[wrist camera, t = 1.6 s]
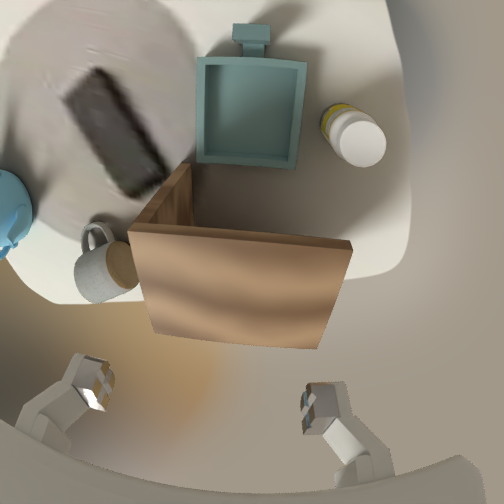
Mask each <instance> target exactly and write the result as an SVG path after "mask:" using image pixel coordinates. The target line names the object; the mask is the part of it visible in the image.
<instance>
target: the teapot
mask: <svg viewBox="0 0 504 504" xmlns="http://www.w3.org/2000/svg"><path fill="white" fill-rule="evenodd" d="M31 224H32V204H31V200H30V196H29V194H28V192H27V189H26V188H25V186H24V184H23V183H22V182H21V180H20V179H19V178H18V177H17V176H15V175H14V174H12V173H10V172H8V171H5V170H0V247H3V249H2V250H1V252H0V260H1V259H3V258H4V257H5V256H6V255H7V253H8V251H9V250H10V248H13V249H14V248H16V247H17V245H18V241H20V240H21V239H23V238H24V237H25V236H26V235H27V234H28V232H29V230H30V228H31Z"/></svg>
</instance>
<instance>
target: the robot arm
mask: <svg viewBox="0 0 504 504" xmlns="http://www.w3.org/2000/svg"><path fill="white" fill-rule="evenodd" d="M109 366H110V364H109V362H108V361H107V360H103V359H98V358H94V357H90V356H87V355H83V354H79V353H76V354H75V355H74V356H73V358H72V360H71V362H70V364H69V366H68V368H67V370H66V372H65V374H64V376H63V379H62V381H61V382H60V381H58V382H56V383H55V384H53V385H52V386H51V387H49V388H48V389H46V390H45V391H43V392H42V393H40V394H39V395H38V396H36V397H35V398H33V399H32V400H31V401H29V402H27V403H26V404H24V406H23V409H22V411H21V413H20V415H19V418H18V420H17V423H16V425H15V428H14V427H12V426H10V425H8V424H7V423H5V422H4V421H2V420H1V419H0V504H486V497H485V491H484V485H483V479H482V476H481V473H480V470H479V469H478V468H477V467H476V466H475V465H474V464H473V463H471V462H470V461H469V460H467V459H466V458H465V457H463V456H461V455H456V456H453V457H450V458H448V459H445V460H443V461H440V462H437V463H435V464H432V465H429V466H426V467H423V468H420V469H417V470H414V471H411V472H408V473H404V474H401V475H398V476H395V473H394V468H393V463H392V458H391V453H390V449H389V448H388V447H387V446H386V445H385V444H384V443H383V442H382V441H381V440H380V439H379V438H377V437H376V436H375V435H374V433H373V432H371V430H369V428H368V427H366V425H365V424H364V423H363V422H362V421H361V420H360V419H359V418H358V417H357V416H353V415H352V410H351V405H350V400H349V396H348V391H347V387H346V384H345V382H317V383H308V384H307V385H306V391H305V392H303V394H302V396H301V403H300V408H301V413H302V414H303V415H304V416H305V417H304V418H303V420H302V429H303V435H319V434H323V435H322V436H323V437H324V438H325V440H326V441H327V442H328V443H329V445H330V446H331V447H332V449H333V450H334V451H335V453H336V454H337V455H338V457H339V458H340V459H341V460H342V462H343V463H344V464H345V466H343V467H342V468H340V469H339V470H337V471H336V472H335V473H334V477H335V487H336V488H335V489H328V490H320V491H310V492H299V493H298V492H297V493H275V494H252V493H228V492H217V491H216V492H215V491H207V490H198V489H191V488H184V487H178V486H172V485H167V484H162V483H156V482H152V481H147V480H144V479H139V478H135V477H132V476H128V475H124V474H121V473H117V472H114V471H111V470H108V469H104V468H101V467H99V466H96V465H93V464H90V463H88V462H85V461H82V460H80V459H77V458H75V457H72V456H70V455H68V453H69V449H70V446H71V442H72V441H71V438H70V437H68V436H67V435H66V434H65V433H64V431H65V430H66V429H67V428H68V427H69V426H70V425H72V424H73V423H74V422H75V421H76V420H77V419H78V418H79V417H80V416H81V415H82V414H83V413H85V411H87V410H88V409H89V407H91V408H94V409H98V410H102V411H106V409H107V406H108V403H109V400H110V399H109V396H108V394H109V393H110V392H112V391H113V388H114V384H115V376H114V373H113V371H112V370H111V369H109Z"/></svg>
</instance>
